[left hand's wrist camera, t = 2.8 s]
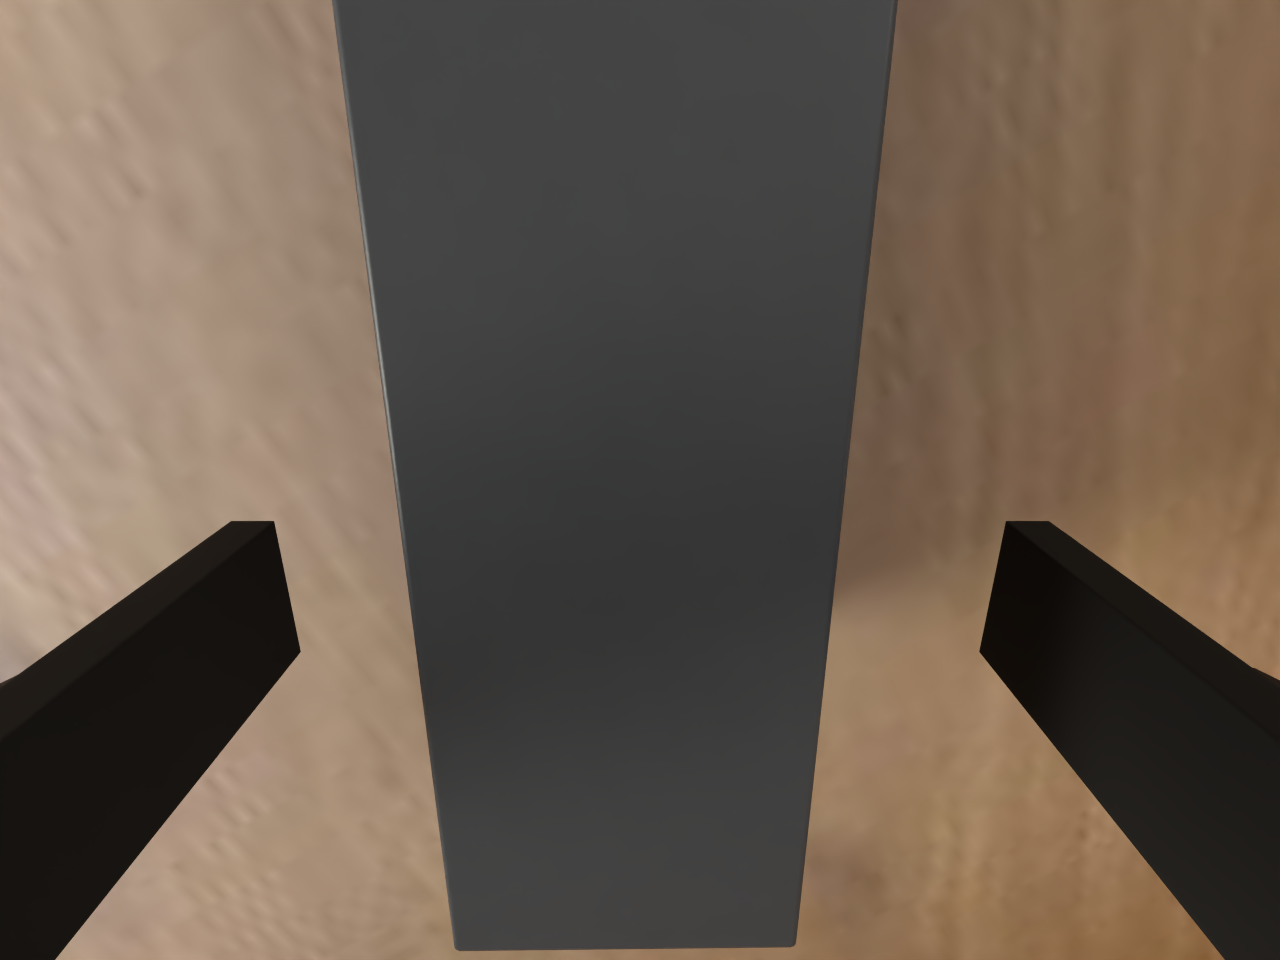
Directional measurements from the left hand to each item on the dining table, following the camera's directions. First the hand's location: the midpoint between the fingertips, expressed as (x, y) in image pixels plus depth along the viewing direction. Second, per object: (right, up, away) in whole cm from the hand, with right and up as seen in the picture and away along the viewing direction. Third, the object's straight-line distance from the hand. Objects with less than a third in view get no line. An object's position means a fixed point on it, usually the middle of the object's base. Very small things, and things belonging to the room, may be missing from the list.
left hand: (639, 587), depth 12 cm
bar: (0, +8, +1) cm, 8 cm away
